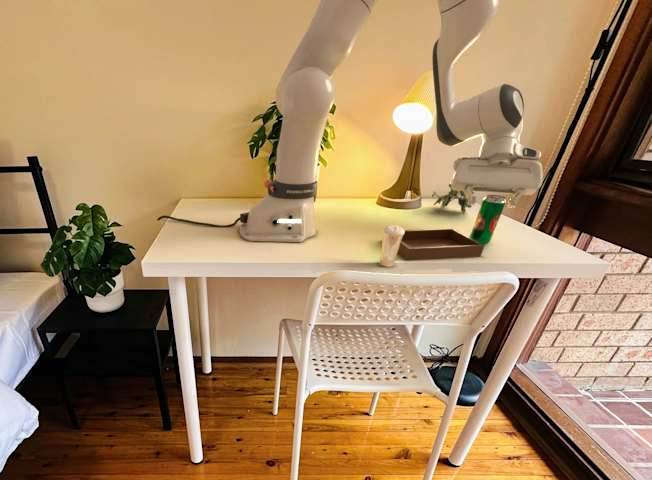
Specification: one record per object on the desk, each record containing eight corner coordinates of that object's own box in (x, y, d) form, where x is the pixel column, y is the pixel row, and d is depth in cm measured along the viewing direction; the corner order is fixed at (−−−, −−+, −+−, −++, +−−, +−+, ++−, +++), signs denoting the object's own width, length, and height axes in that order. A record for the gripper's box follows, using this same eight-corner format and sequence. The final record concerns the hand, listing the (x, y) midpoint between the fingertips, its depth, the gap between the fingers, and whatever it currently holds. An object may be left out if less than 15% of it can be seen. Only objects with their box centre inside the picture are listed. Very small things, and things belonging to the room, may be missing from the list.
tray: (406, 260, 91) (409, 249, 89) (382, 241, 102) (385, 231, 101) (480, 256, 93) (485, 245, 91) (449, 238, 104) (452, 228, 102)
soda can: (464, 238, 103) (480, 194, 97) (483, 239, 103) (500, 194, 96) (473, 245, 99) (491, 198, 92) (493, 245, 99) (511, 199, 92)
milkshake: (375, 267, 87) (384, 225, 82) (376, 259, 92) (386, 218, 86) (395, 270, 86) (406, 227, 80) (396, 262, 90) (406, 220, 84)
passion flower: (456, 228, 128) (483, 204, 117) (427, 222, 127) (451, 198, 116) (452, 202, 132) (478, 177, 121) (424, 196, 131) (447, 170, 120)
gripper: (459, 148, 98) (451, 195, 96) (548, 151, 93) (542, 201, 91) (451, 164, 104) (444, 208, 102) (535, 168, 99) (529, 215, 97)
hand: (491, 205), depth 97 cm, fingers open, 8 cm apart
